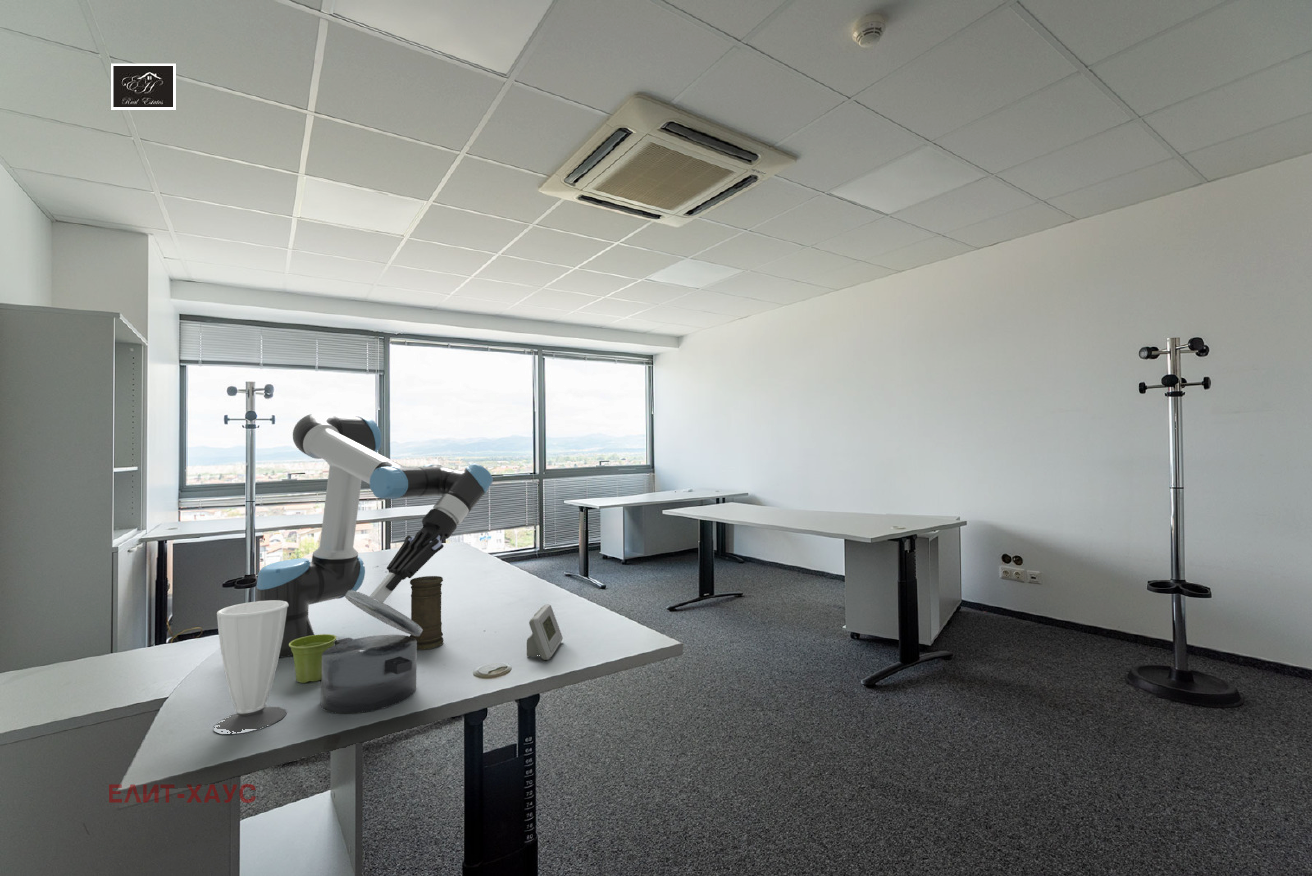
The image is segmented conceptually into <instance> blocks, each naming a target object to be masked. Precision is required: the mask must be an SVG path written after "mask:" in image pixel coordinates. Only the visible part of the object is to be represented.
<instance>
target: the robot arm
mask: <svg viewBox="0 0 1312 876" xmlns="http://www.w3.org/2000/svg"><path fill="white" fill-rule="evenodd" d="M292 440H293V443H294V445H295V447H296V449H298V450H299V451H300V452H302V453H303V454H304V455H306V456H308V457H310V458H312V459H316V460H320V459H322V460H324V461H325V462H326V463H327V464H328V465H329V468H328V476H327V484H326V494H325V501H324V510H323V516H322V517H323V518H322V525H321V526H322V527H321V532H320V539H319V540H320V541H319V547H318V548H317V549H315V550H313V552H312V555H311V561H310V560H309V559H308V558H303V557H301V558H300V557H299V558H292V559H285V560H280V561H277V562H272V563H270V564H268V565H267V564H266V565H265V566H264V567H262V568H261V569H260V570H259V572H258V573H257V580H256V602H257V601H269V600H279V601H286V602H287V603H288V604H289V606H288V607H287V613H286V621H285V627H284V634H283V640H282V645H281V649H280V654H279V657H280V658H286V657H290V656H293V653H292V651H291V647H289V643H290V642H292V641H293V640H296V639H299V638H302V637H306V636H312V635H316V633H315V632H314V629H313V626H312V624H311V622H310V618H309V606H310V605H314V604H318V603H322V602H327V601H332V600H336V599H337V600H338V599H342V598H345V594H346V593H347V592H348V590H354V591H357V592H358V590H359V589H360V588H361V586H362V585H363V582H364V580H365V576H366V567H365V565H364V564H365V563H364V561H363V559H362V558H361V557H360V556H359V551H358V550H356V549H355V547H354V543H355V535H356V527H357V520H358V512H359V505H360V495H361V487H362V482H364V483H367V484H368V485H369V489H370V491H371V492H372V494H373V496H374V497H376V498H378V499H383V500H384V499H387V500H396V499H407V498H417V497H418V498H419V497H420V498H421V497H423V498H424V497H436V496H437V497H440V498H439V499H438V500H437V501H436V502H435V504H434V505H433V506H432V508H431V509H430V510H429V511H428V512H427V513H426V515H425V516H424V517H422V520H421V524H422V528H420V529H419V530H418V531H417V532H416V534H415V535H414V536H411V535H407V536H406V537H405V539H404V541H403V544H401V546H400V548H399V549H398V550H397V552H396V553H395V555H394V556H393V558H391V559H392V560H391V561H390V563H388V565H387V567H386V569H387V572H388V574H387V575H386V576H385V578H383V580H381V582H380V583H379V584H378V586H377V587H376V588H375V589H374V590H373V592H372V593H371V594H370V595H369V596H370V597H372V598H374V599H376V600H378V601H380V602H382V603H384V602H385V601H386V600H387V598H388V597H390V595H391V594H392V593H393V591H395V589H396V588H397V586H399V584H400V583H401V582H402V580H403V581H404V580H406V579H407V578H408V579H412V577H413V576H414V575H416V573H417V572H418V571H420V570H421V569H422V568H423V566H425V564H427V563H428V562H429V560H430V559H432V558H433V556H434V555H435V554H436V553H438V552H440V551H441V550H442V549H443V548H444V544H443V543H442V542H441V541H442V540H447V539H449V538H450V537H451V536H452V535H453V533H454V532H455V531H456V529H457V526H459V525H460V524H461V523H462V522H463V521H464V520H465V518H466V517H467V515H468V514H469V513H470V512H471V511H472V509H473V508H474V507H475V506H476V505H477V503H478V502H479V501H480V500H481V498H482V497H483V496H484V495H485V494H486V493H487V491H488V490H489V488H490V487H491V485H492V484H493V480H494V479H493V476H492V474H491V472H490V471H489V470H488V469H487V468H485V467H484V466H483V465H481V464H478V463H471V464H469V465H467V466H466V467H465V468H464V470H460V469H455V468H450V467H447V466H443V465H441V464H433V463H428V464H425V465H423V466H405V465H402V464H399V463H398V462H397V461H396V462H395V461H394V460H392V459H391V458H388V457H387V456H384V455H382V454H380V453H379V452H378V451H379V450H380V449H381V446H382V432H381V429H380V427H379V426H378V424H377V423H376V422H375V420H373V419H372V418H370V417H368V416H362V415H359V414H345V413H344V414H341V413H328V412H314V413H311V414H307V415H305V416H304V417H302V418H301V419H299V420H298V421H297V423H296V424H295V426H294V428H293V430H292Z"/></svg>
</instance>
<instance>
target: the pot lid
mask: <svg viewBox="0 0 1312 876" xmlns="http://www.w3.org/2000/svg"><path fill="white" fill-rule="evenodd" d="M344 598H346V600H347V601H348V602H350V603H351V604H352V605H354V606H355V607H357V608H359V609H360V610H361V611H363V612H365V613H366V614H368V615H370V616H372V617H373V618H375V619H377V620H378V621H381V622H382V623H383V624H386V625H388V626H390V627H393V628H394V629H397V630H398V631H401V632H404V633H405V634H409V635H414V636H420V634H421V633H422V631H423V629H422V628H421V627H420V626H419V625H418V624H417V623H415V622H414V621H413V620H411V617H410V618H409V617H408V616H407V615H405V614H404V613H402V612H400V611H398V610H396V609H395V608H393V607H392V606H390V605H389V604H386V603H384V602H383V603H382V602H380V601H378V600H376V599H374V598H372V597H370V595H367V594H364V593H362V592H360V591H358V590H357V591H354V590H348V592H347V593H346V594H345V597H344Z"/></svg>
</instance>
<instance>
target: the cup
mask: <svg viewBox="0 0 1312 876" xmlns="http://www.w3.org/2000/svg"><path fill="white" fill-rule="evenodd" d="M288 606H289V604H288V603H287V602H286V601H279V600H269V601H257V600H256V601H251V602H244V603H238V604H234V605H231V606H225V607H224V608H222V609H220V610H218V611H217V612H216V618H217V619H216V620H217V629H218V638H219V639H218V640H219V646H220V648H219V649H220V654H221V659H222V664H223V665H222V666H223V670H224V675H225V680H226V684H227V687H228V691H229V696H230V698H231V701H232V704H233V706H234V707H233V708H234V710H235V713H234V714H231V715H230V716H231V717H229V718H226V717H225V718H226V719H225V718H223V719H222V720H225V721H223V722H220V723H218V722H217V723H218V724H217V723H216V724H215V725H220V727H219V726H218V727H216V728H217V729H226V730H229V731H230V732H231V733H230V734H232V733H233V732H232V731H234V732H236V733H237V732H241V731H242V729H243V730H245V729H260V728H262V727H265V726H267V725H270V726H272V724H273V725H274V723H275V722H276V723H278V722H279V721H278V720H280V721H281V719H282V718H283V719H284V717H285V716H286V715H287V710H286V709H285V708H282V707H280V706H267V701H268V698H269V695H270V693H271V691H272V687H273V683H274V680H275V675H276V670H277V667H278V664H279V654H280V649H281V645H282V640H283V634H284V627H285V621H286V613H287V607H288ZM277 721H278V722H277ZM276 723H275V724H276ZM213 727H214V726H213ZM214 728H215V727H214ZM265 728H266V727H265ZM262 729H263V728H262ZM260 730H261V729H260ZM221 732H223V731H221ZM227 733H228V732H227Z"/></svg>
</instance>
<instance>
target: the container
mask: <svg viewBox="0 0 1312 876" xmlns="http://www.w3.org/2000/svg"><path fill="white" fill-rule="evenodd" d="M443 581H444V578H443V577H442V576H439V575H438V576H437V575H426V576H425V575H424V576H419V577H413V578H410V580H409V585H410V588H411V594H410V600H411V601H410V610H411V611H410V612H411V613H410V619H411V620H413V621H414V622H415V623H417V624H418V625H419V626H420V627H421V628H422V629H423V631H422V633H421V634H420V636H414V635H411V634H409V636H410V637H413V638H415V639H416V640H417V651H421V650H423V651H424V650H426V651H427V650H430V649H431V650H432V649H434V648H437V647H440V646H441V645H444V638H443V635H444V633H443V632H442V631H443V630H442V625H443V623H442V586H443V583H442V582H443Z"/></svg>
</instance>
